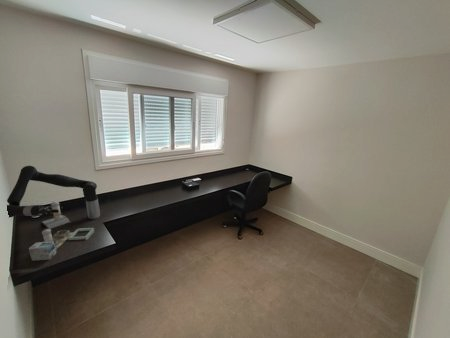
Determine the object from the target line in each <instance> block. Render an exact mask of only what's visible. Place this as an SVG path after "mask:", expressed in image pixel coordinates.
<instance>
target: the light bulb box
mask: <svg viewBox="0 0 450 338" xmlns="http://www.w3.org/2000/svg"><path fill="white" fill-rule="evenodd" d="M28 251H29V254H30V259H31V261H34V262H35V261H47V260H52V258H53V257H55V255H56V254H57V250H56V248H55V244H54V241H50V242H44V241H41V242H40V241H39V242H34V244H33V245H31V246H30V247H29V248H28Z"/></svg>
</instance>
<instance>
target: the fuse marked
mask: <svg viewBox="0 0 450 338" xmlns="http://www.w3.org/2000/svg"><path fill="white" fill-rule="evenodd" d="M50 205H51V207H52V208H51V209H52V210H59V212H58V213H52V214H53V218H54V220H60V219H62V215H63V214H62V212H61V210H60V207H61V206H60V202H59V201H52V202H50Z"/></svg>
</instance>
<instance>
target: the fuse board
mask: <svg viewBox="0 0 450 338" xmlns="http://www.w3.org/2000/svg"><path fill="white" fill-rule="evenodd" d="M74 232H75V231H73V232H71V231H70V229H67V230H66V229H63V230H58V231H57V232H55V233H54V234H53V235H52V239H53V241H54V244H55V248H56V251H57V250H58V248H60V246H62V245H63V244H64V243H65V242H66V240H69V239H68V237H69V236H70V235H71V234H73V233H74Z"/></svg>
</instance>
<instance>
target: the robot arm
mask: <svg viewBox="0 0 450 338" xmlns="http://www.w3.org/2000/svg"><path fill="white" fill-rule="evenodd" d="M30 181H34V182H39V183H40V182H42V183H45V184H48V185H49V184H51V185H54V186H58V187H62V188H80V189H82V193H83V198H84V200H85V205H86V211H87V217H88V219H89V220H95V219H99V218H100V216H101V210H100V205H99V198H98V195H97V192H96V189H97V187H98V185H97V183H96V182H94V181H91V180H90V181H89V180H83V179H78V178H74V177H70V176H67V175H63V174H59V173H58V174H57V173H55V174H54V173H53V174H51V173H49V174H48V173H44V172H41V171H38V170H37V167H35V166H33V165H25V166H23V167H22V168H21V170H20V173H19V175H18V178H17V181H16V183H15V185H14V187H13V189H12V190H11V192H10V194H9V196H8V197H7V200H6V202H7V203H8V204H6V205H7V211H8V215H9V217H8V218H13V217H15V216H19V217H20V216H22V217H23V216H24V217H25V216H28V217H34V216H35V217H36V216H38V217H42V216H49V215H51V214H53V213H58V212H59V210H52V207H51V204H50V205H47V206H44V204H34V205H33V204H32V205H31V204H30V205H21V201H22V200H23V197H24V196H25V193H26V191H27V188H28V185H29V182H30ZM59 207H60V211H61V210H64V207H63V206H59Z"/></svg>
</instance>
